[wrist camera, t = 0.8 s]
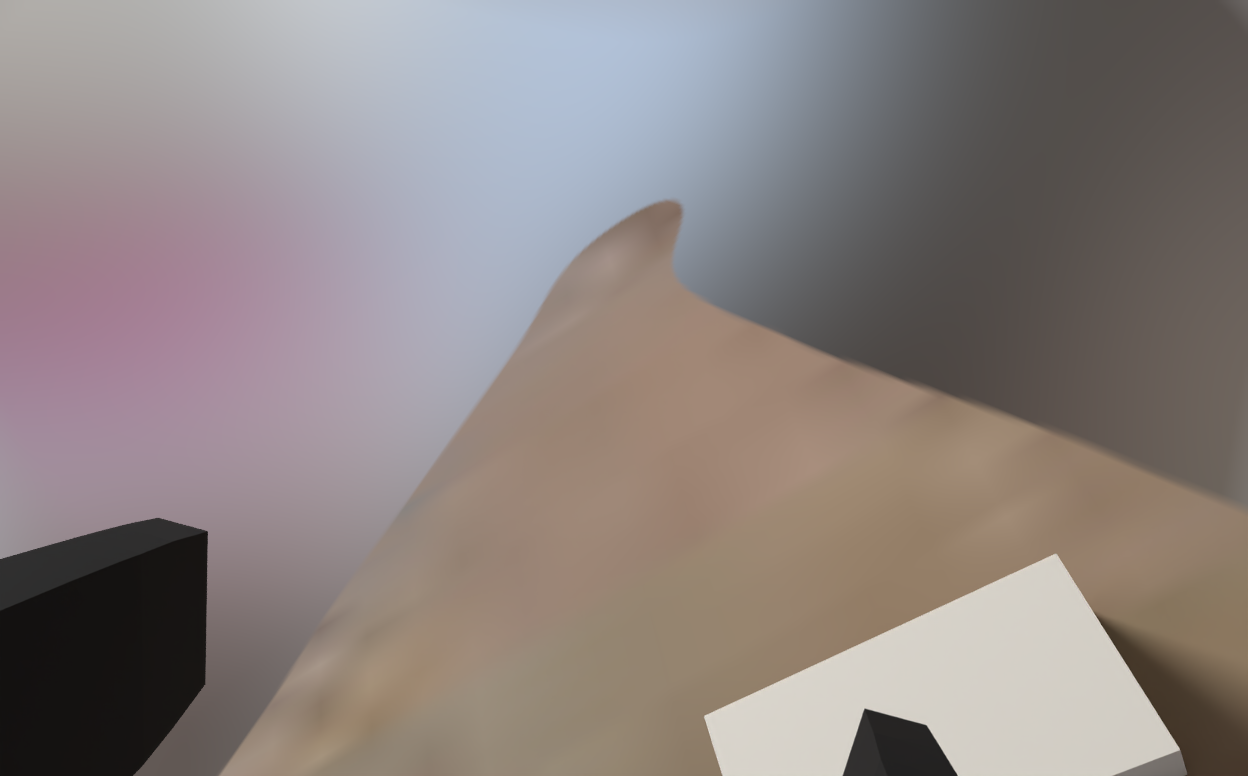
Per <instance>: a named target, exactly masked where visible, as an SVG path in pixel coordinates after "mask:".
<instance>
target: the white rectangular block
mask: <svg viewBox="0 0 1248 776" xmlns="http://www.w3.org/2000/svg"><path fill="white" fill-rule="evenodd" d="M864 708H865V709H869V710H872V711H876V712H880V713H884V714H887V715H891V716H895V717H898V718H902V719H906V720H910V721H913V722H917V723H921V724H924V725H927V727H928V728H929V730H930V731H931V733H932V734H933V736H934V738H935V739H936V741H937V742H938V744H939V746H940V747H941V749H942V751H943V752H944V754H945V755H946V757H947V759H948V760H949V762H950V764H951V765H952V767H953V768H954V770H955V772H956V773H957V775H958V776H1185V775H1187V771H1186V768H1185V764H1184V761H1183V757H1182V754H1181V751H1180V749H1179V747H1178V745H1177V744H1176V742H1175V741H1174V739H1173V738H1172V736H1171V734H1170V733H1169V731H1168V730H1167V728H1166V726H1165V725H1164V723H1163V722H1162V720H1161V719H1160V717H1159V715H1158V714H1157V712H1156V711H1155V709H1154V708H1153V706H1152V704H1151V703H1150V701H1149V700H1148V698H1147V696H1146V695H1145V693H1144V692H1143V690H1142V689H1141V687H1140V685H1139V684H1138V682H1137V681H1136V679H1135V677H1134V676H1133V674H1132V673H1131V671H1130V670H1129V668H1128V666H1127V665H1126V663H1125V662H1124V660H1123V658H1122V657H1121V655H1120V654H1119V652H1118V651H1117V649H1116V647H1115V646H1114V644H1113V643H1112V641H1111V639H1110V638H1109V636H1108V635H1107V633H1106V632H1105V630H1104V628H1103V627H1102V625H1101V624H1100V622H1099V620H1098V619H1097V617H1096V616H1095V614H1094V613H1093V611H1092V609H1091V608H1090V606H1089V605H1088V603H1087V601H1086V600H1085V598H1084V597H1083V595H1082V594H1081V592H1080V590H1079V589H1078V587H1077V586H1076V584H1075V582H1074V581H1073V579H1072V578H1071V576H1070V575H1069V573H1068V571H1067V570H1066V568H1065V567H1064V565H1063V563H1062V562H1061V560H1060V559H1059V557H1058V556H1057V554H1054V555H1052V556H1050V557H1047V558H1045V559H1043V560H1041V561H1039V562H1037V563H1034V564H1032V565H1030V566H1028V567H1026V568H1024V569H1021V570H1019V571H1017V572H1015V573H1013V574H1011V575H1008V576H1006V577H1004V578H1002V579H1000V580H998V581H995V582H993V583H991V584H989V585H987V586H985V587H983V588H980V589H978V590H976V591H974V592H972V593H970V594H967V595H965V596H963V597H961V598H959V599H957V600H954V601H952V602H950V603H948V604H946V605H944V606H941V607H939V608H937V609H935V610H933V611H931V612H928V613H926V614H924V615H922V616H920V617H918V618H915V619H913V620H911V621H909V622H907V623H905V624H902V625H900V626H898V627H896V628H894V629H892V630H889V631H887V632H885V633H883V634H881V635H879V636H876V637H874V638H872V639H870V640H868V641H866V642H863V643H861V644H859V645H857V646H855V647H853V648H850V649H848V650H846V651H844V652H842V653H840V654H837V655H835V656H833V657H831V658H829V659H827V660H824V661H822V662H820V663H818V664H816V665H814V666H812V667H809V668H807V669H805V670H803V671H801V672H799V673H796V674H794V675H792V676H790V677H788V678H786V679H783V680H781V681H779V682H777V683H775V684H773V685H770V686H768V687H766V688H764V689H762V690H760V691H757V692H755V693H753V694H751V695H749V696H747V697H744V698H742V699H740V700H738V701H736V702H734V703H731V704H729V705H727V706H725V707H723V708H721V709H718V710H716V711H714V712H712V713H710V714H708V715H705V716H704V718H705V721H706V724H707V727H708V730H709V734H710V737H711V740H712V743H713V746H714V750H715V753H716V756H717V759H718V762H719V766H720V769H721V772H722V775H723V776H843V773H844V770H845V767H846V764H847V760H848V757H849V754H850V751H851V748H852V745H853V742H854V739H855V736H856V733H857V730H858V727H859V724H860V721H861V717H862V714H863V711H864Z"/></svg>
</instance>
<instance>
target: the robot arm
mask: <svg viewBox="0 0 1248 776" xmlns="http://www.w3.org/2000/svg"><path fill="white" fill-rule="evenodd" d="M207 544H208V532H207V531H205V530H201V529H197V528H194V527H190V526H186V525H183V524H178V523H175V522H171V521H168V520H164V519H160V518H155V519H151V520H145V521H140V522H135V523H131V524H126V525H122V526H118V527H115V528H110V529H106V530H102V531H99V532H95V533H91V534H87V535H84V536H80V537H77V538H73V539H70V540H66V541H63V542H59V543H55V544H52V545H49V546H45V547H42V548H38V549H34V550H31V551H27V552H24V553H20V554H17V555H13V556H10V557H7V558H3V559H0V776H133V775H134V774H135V773H136V772H137V771H138V770H139V769H140V768H141V767H142V765H143V764H144V763H145V762H146V761H147V759H148V758H149V757H150V756H151V755H152V753H153V752H154V751H155V749H156V748H157V747H158V746H159V744H160V743H161V742H162V741H163V740H164V738H165V737H166V736H167V734H168V733H169V732H170V731H171V729H172V728H173V727H174V726H175V724H176V723H177V722H178V720H179V719H180V717H181V716H182V715H183V713H184V712H185V710H186V709H187V708H188V707H189V705H190V704H191V703H192V701H193V700H194V699H195V697H196V696H197V695H198V693H199V692H200V691H201V689H202V688H203V687H204V685H205V664H206V604H207ZM843 776H958V775H957V773H956V772H955V770H954V768H953V767H952V765H951V764H950V762H949V760H948V759H947V757H946V755H945V754H944V752H943V751H942V749H941V747H940V746H939V744H938V742H937V741H936V739H935V738H934V736H933V734H932V733H931V731H930V730H929V728H928V727H927V725H924V724H921V723H917V722H913V721H910V720H906V719H902V718H898V717H895V716H891V715H887V714H884V713H880V712H876V711H872V710H869V709H865V708H864V711H863V714H862V717H861V721H860V724H859V727H858V730H857V733H856V736H855V739H854V742H853V745H852V748H851V751H850V754H849V757H848V760H847V764H846V767H845V770H844V773H843Z"/></svg>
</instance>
